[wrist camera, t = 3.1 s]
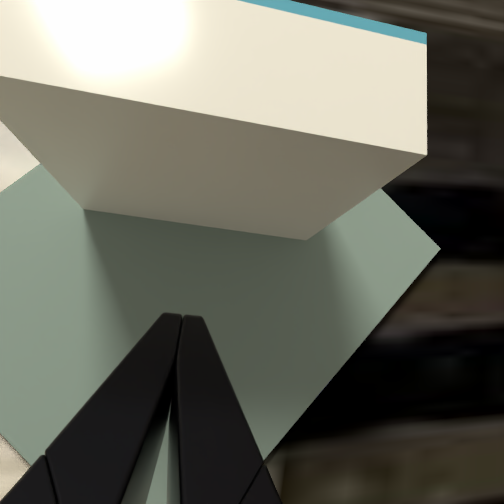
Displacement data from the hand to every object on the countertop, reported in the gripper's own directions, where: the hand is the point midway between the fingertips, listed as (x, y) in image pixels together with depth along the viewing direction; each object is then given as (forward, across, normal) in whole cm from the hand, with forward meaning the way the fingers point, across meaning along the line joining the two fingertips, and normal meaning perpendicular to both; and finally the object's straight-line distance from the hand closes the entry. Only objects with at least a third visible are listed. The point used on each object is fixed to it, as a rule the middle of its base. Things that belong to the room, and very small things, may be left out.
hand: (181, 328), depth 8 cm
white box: (+8, 0, 0) cm, 8 cm away
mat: (+6, 0, +3) cm, 7 cm away
